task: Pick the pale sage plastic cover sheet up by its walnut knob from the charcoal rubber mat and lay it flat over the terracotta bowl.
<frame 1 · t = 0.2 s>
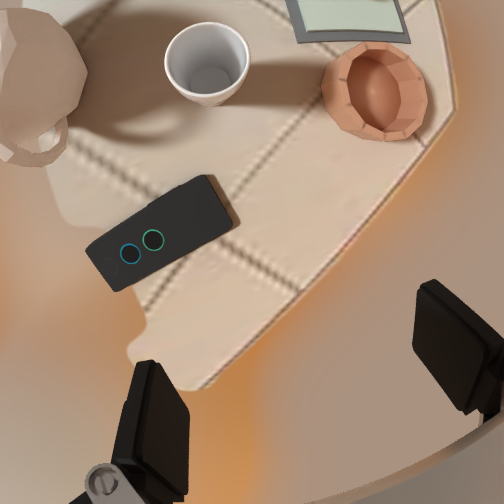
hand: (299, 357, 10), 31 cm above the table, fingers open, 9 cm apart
bowl: (365, 93, 35), on the table
drinking glass: (211, 86, 33), on the table
watering can: (49, 79, 29), on the table
smart home device: (155, 234, 40), on the table
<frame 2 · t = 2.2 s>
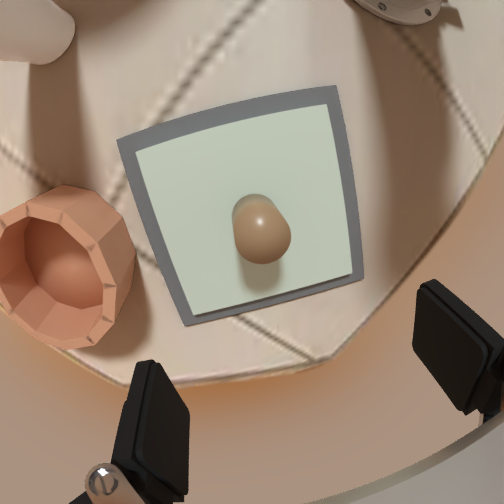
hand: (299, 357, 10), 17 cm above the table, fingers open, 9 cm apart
bowl: (72, 253, 24), on the table
drinking glass: (53, 39, 17), on the table
mat: (253, 212, 25), on the table
cover sheet: (253, 213, 24), resting on mat
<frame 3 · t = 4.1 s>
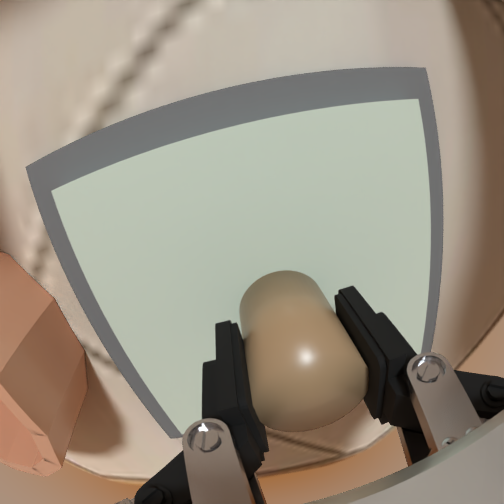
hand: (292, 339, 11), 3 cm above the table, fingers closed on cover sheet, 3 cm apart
bowl: (2, 339, 13), on the table
mat: (277, 294, 14), on the table
cover sheet: (278, 299, 13), resting on mat, touching gripper
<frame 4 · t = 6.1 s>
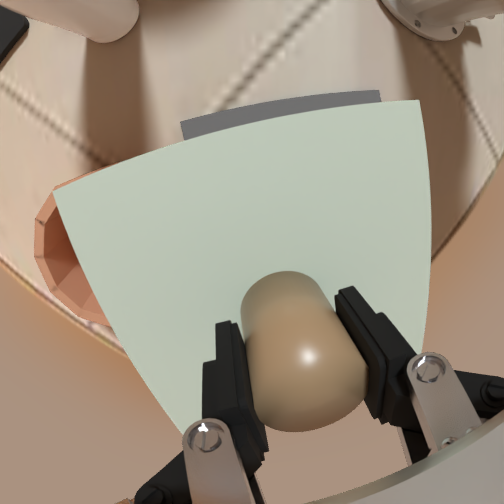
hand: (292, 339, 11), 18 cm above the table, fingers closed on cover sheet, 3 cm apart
bowl: (121, 231, 26), on the table
drinking glass: (113, 20, 18), on the table
mat: (304, 197, 27), on the table
cover sheet: (279, 299, 13), point 15 cm above the table, touching gripper
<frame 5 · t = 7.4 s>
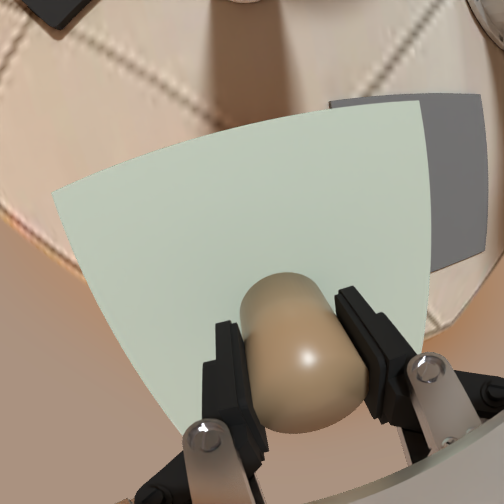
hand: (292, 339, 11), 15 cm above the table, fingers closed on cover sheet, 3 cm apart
mat: (429, 188, 25), on the table
cover sheet: (279, 300, 13), point 12 cm above the table, touching gripper
when the fingers open (11 cm above the table, at t = 8.3 s): cover sheet drops 2 cm, resting on bowl.
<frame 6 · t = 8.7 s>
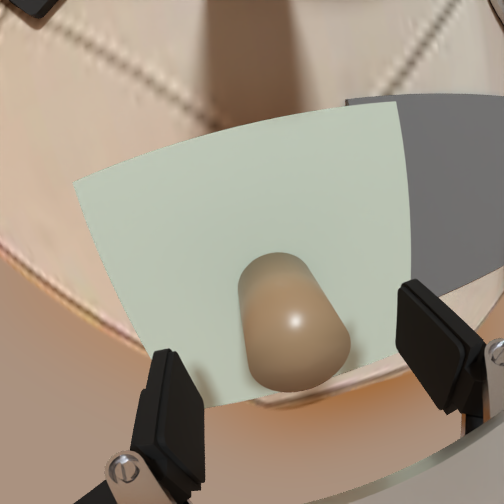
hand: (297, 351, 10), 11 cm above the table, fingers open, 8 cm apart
mat: (452, 200, 21), on the table
cover sheet: (272, 279, 15), point 6 cm above the table, touching bowl
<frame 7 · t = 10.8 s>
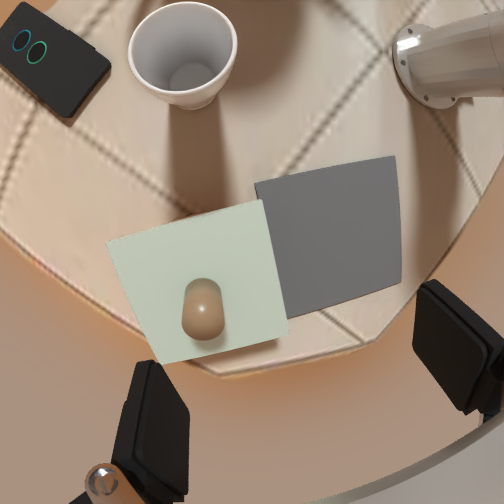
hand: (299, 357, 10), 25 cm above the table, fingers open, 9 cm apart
drinking glass: (193, 87, 28), on the table
mat: (340, 238, 36), on the table
smart home device: (44, 54, 23), on the table
cover sheet: (203, 290, 30), point 6 cm above the table, touching bowl
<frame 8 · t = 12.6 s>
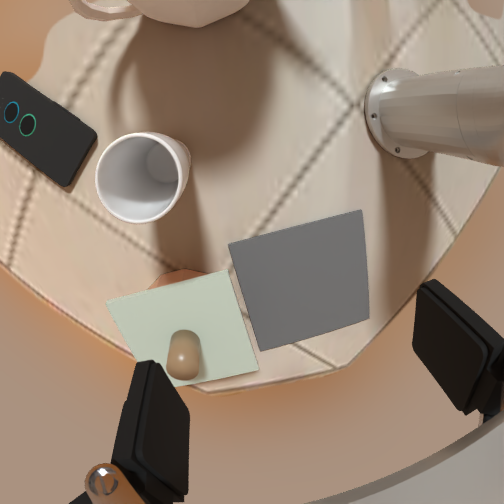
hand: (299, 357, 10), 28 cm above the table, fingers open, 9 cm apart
bowl: (188, 310, 41), on the table
drinking glass: (169, 160, 34), on the table
mat: (308, 285, 42), on the table
smart home device: (35, 123, 29), on the table
cover sheet: (185, 337, 36), point 6 cm above the table, touching bowl
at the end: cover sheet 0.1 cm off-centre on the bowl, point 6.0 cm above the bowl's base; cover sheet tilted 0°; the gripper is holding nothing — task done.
